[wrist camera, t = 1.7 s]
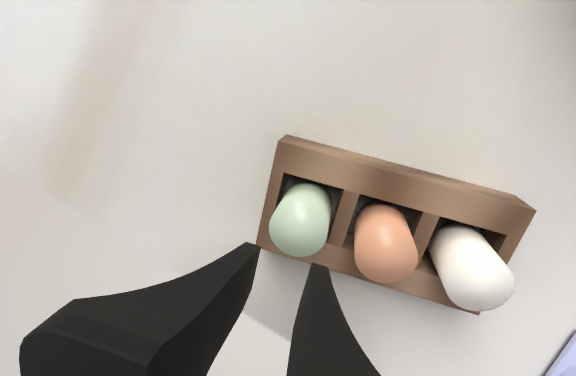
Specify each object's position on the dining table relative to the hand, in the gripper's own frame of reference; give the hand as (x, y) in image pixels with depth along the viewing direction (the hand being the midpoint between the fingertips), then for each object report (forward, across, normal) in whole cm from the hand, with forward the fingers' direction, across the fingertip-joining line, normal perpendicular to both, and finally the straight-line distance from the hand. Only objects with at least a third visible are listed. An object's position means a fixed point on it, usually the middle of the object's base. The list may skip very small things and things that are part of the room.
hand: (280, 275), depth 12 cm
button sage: (+8, 0, 0) cm, 8 cm away
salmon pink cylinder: (+8, -4, 0) cm, 9 cm away
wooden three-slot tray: (+9, -4, 0) cm, 10 cm away
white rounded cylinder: (+8, -9, 0) cm, 12 cm away
